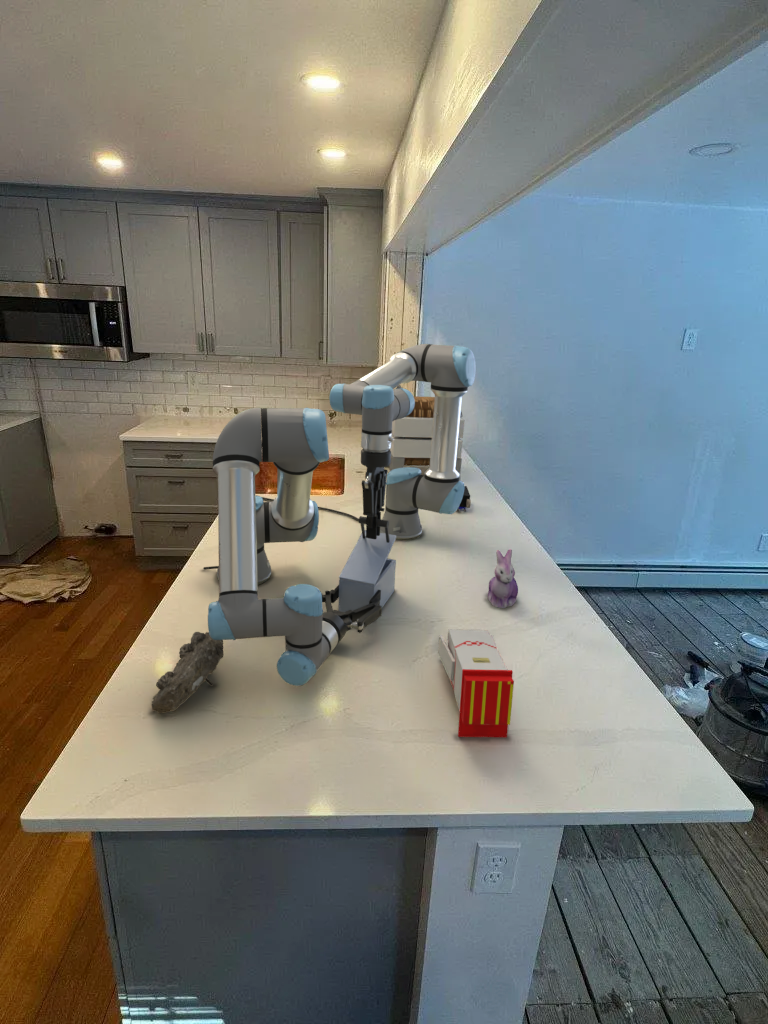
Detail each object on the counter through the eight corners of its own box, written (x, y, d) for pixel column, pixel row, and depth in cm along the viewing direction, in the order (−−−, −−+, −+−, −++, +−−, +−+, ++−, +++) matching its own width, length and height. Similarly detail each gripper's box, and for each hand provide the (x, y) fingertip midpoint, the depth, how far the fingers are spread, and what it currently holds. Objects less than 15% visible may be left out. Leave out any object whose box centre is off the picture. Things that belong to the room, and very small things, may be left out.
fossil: (177, 634, 126) (224, 603, 121) (207, 662, 129) (255, 633, 124) (129, 707, 107) (182, 674, 102) (165, 739, 110) (219, 708, 105)
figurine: (500, 612, 150) (506, 561, 145) (477, 595, 159) (482, 546, 153) (527, 605, 154) (535, 555, 149) (504, 589, 163) (510, 541, 158)
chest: (362, 584, 162) (363, 554, 159) (394, 591, 159) (396, 559, 156) (338, 613, 147) (338, 579, 143) (372, 620, 144) (374, 586, 140)
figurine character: (470, 516, 223) (465, 500, 237) (473, 499, 220) (467, 484, 233) (453, 516, 223) (449, 500, 236) (455, 498, 220) (451, 483, 233)
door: (363, 531, 156) (360, 509, 151) (396, 537, 153) (394, 514, 148) (339, 579, 143) (334, 556, 138) (374, 586, 141) (371, 563, 135)
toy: (488, 613, 130) (523, 677, 101) (484, 667, 133) (517, 744, 104) (435, 612, 130) (455, 676, 101) (432, 666, 133) (451, 743, 103)
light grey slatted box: (382, 463, 289) (386, 382, 275) (445, 464, 293) (451, 384, 279) (390, 482, 257) (394, 392, 243) (460, 483, 261) (468, 394, 247)
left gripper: (279, 638, 130) (321, 595, 150) (370, 659, 124) (400, 612, 144) (279, 609, 128) (321, 569, 148) (371, 630, 121) (402, 585, 141)
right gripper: (380, 457, 133) (376, 549, 141) (399, 444, 147) (395, 528, 155) (350, 454, 135) (348, 544, 144) (372, 441, 149) (369, 524, 157)
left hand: (360, 590), depth 146 cm, fingers closed on chest, 9 cm apart
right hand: (372, 536), depth 149 cm, fingers closed on door, 2 cm apart
